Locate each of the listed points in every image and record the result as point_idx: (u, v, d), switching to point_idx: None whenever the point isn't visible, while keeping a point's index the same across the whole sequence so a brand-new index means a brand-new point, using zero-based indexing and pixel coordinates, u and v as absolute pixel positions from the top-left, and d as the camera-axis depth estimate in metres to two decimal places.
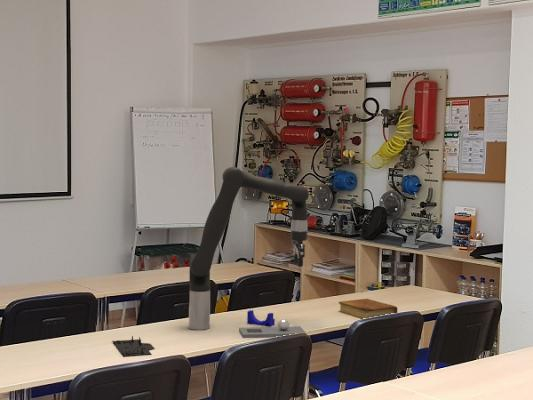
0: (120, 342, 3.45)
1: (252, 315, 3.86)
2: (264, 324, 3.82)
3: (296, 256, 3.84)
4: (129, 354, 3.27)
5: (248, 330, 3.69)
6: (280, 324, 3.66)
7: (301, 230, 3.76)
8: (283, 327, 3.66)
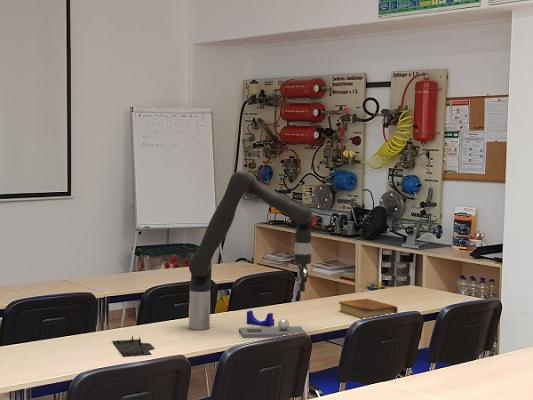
0: (120, 342, 3.45)
1: (251, 315, 3.86)
2: (264, 324, 3.82)
3: None
4: (129, 354, 3.27)
5: (248, 330, 3.69)
6: (280, 324, 3.66)
7: (305, 253, 3.63)
8: (283, 327, 3.66)
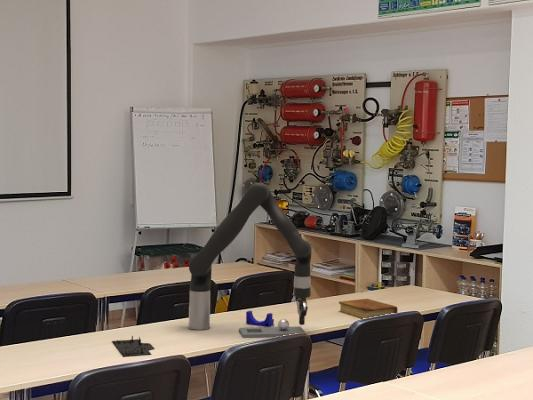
0: (120, 342, 3.45)
1: (251, 315, 3.85)
2: (263, 324, 3.81)
3: None
4: (129, 354, 3.27)
5: (248, 330, 3.69)
6: (280, 324, 3.66)
7: (304, 287, 3.64)
8: (283, 327, 3.66)
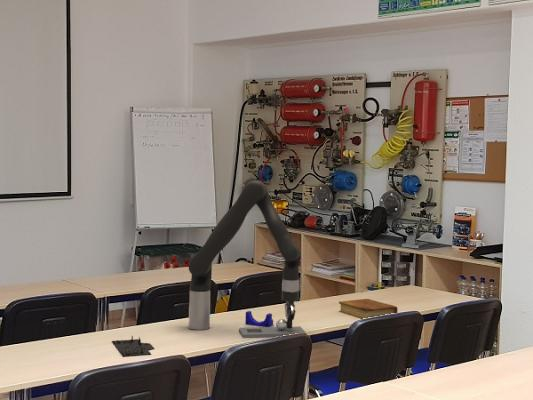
0: (120, 342, 3.45)
1: (250, 316, 3.84)
2: (263, 325, 3.80)
3: None
4: (129, 354, 3.27)
5: (248, 330, 3.69)
6: (278, 325, 3.66)
7: (292, 290, 3.64)
8: (281, 327, 3.65)
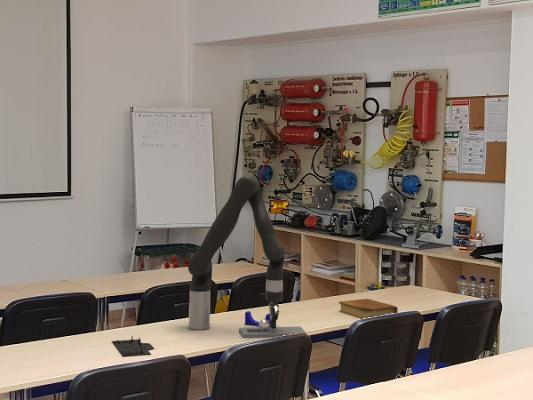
0: (120, 342, 3.45)
1: (250, 316, 3.84)
2: None
3: None
4: (129, 354, 3.27)
5: (248, 330, 3.69)
6: (268, 327, 3.65)
7: (276, 291, 3.62)
8: (266, 324, 3.64)
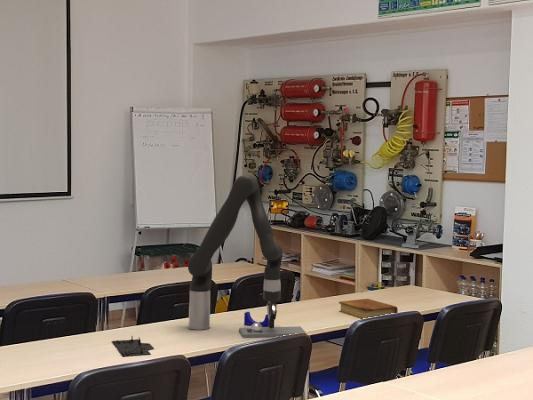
0: (120, 342, 3.45)
1: (249, 316, 3.83)
2: (262, 325, 3.79)
3: None
4: (128, 354, 3.27)
5: (248, 330, 3.69)
6: (258, 325, 3.64)
7: (274, 290, 3.62)
8: (255, 328, 3.63)
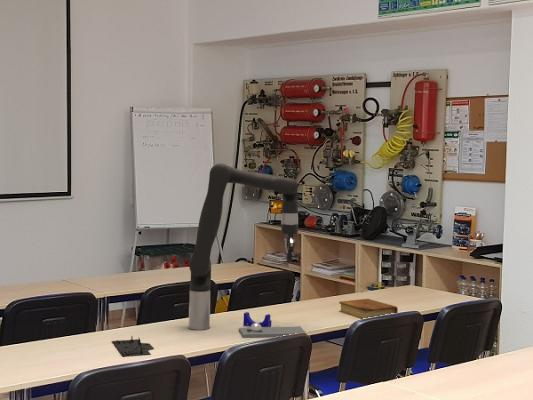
0: (119, 342, 3.45)
1: (248, 317, 3.82)
2: (261, 326, 3.78)
3: None
4: (128, 354, 3.27)
5: (248, 330, 3.69)
6: (257, 325, 3.64)
7: (291, 223, 3.68)
8: (254, 329, 3.63)
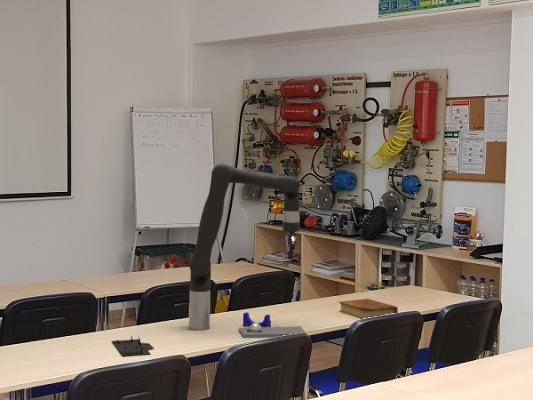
0: (119, 342, 3.45)
1: (248, 317, 3.81)
2: (261, 326, 3.78)
3: None
4: (128, 354, 3.27)
5: (248, 330, 3.69)
6: (256, 325, 3.64)
7: (293, 221, 3.69)
8: (254, 329, 3.63)
